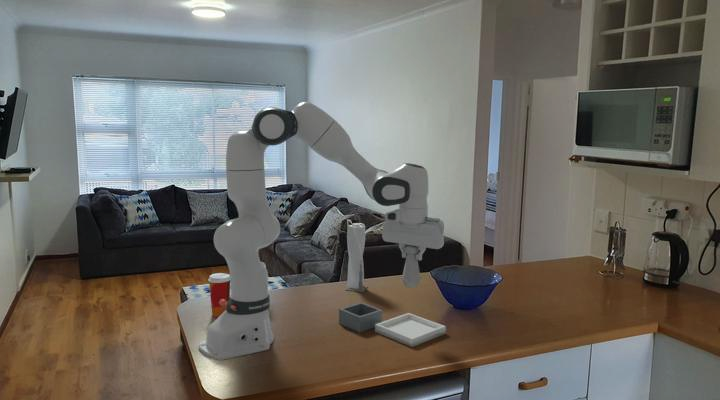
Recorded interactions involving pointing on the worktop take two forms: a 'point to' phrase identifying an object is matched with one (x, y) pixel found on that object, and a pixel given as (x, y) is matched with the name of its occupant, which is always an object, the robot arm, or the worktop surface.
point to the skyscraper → (355, 257)
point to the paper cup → (219, 292)
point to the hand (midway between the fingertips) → (411, 258)
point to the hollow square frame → (360, 316)
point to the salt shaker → (411, 267)
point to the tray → (410, 329)
